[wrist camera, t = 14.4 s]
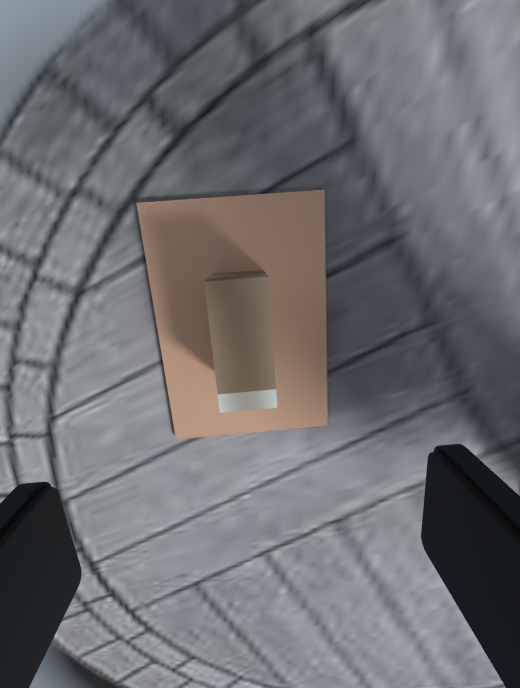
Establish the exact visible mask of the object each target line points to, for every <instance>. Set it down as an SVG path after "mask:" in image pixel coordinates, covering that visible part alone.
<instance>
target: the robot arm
mask: <svg viewBox="0 0 520 688" xmlns="http://www.w3.org/2000/svg"><path fill="white" fill-rule="evenodd" d="M421 539H422V543H423V547H424V549H425V551H426V553H427V555H428V557H429V558H430V560H431V562H432V563H433V565H434V567H435V568H436V570H437V572H438V574H439V575H440V577H441V579H442V580H443V582H444V584H445V585H446V587H447V589H448V590H449V592H450V594H451V595H452V597H453V599H454V601H455V602H456V604H457V606H458V607H459V609H460V611H461V612H462V614H463V616H464V617H465V619H466V621H467V622H468V624H469V626H470V628H471V629H472V631H473V633H474V634H475V636H476V638H477V639H478V641H479V643H480V644H481V646H482V648H483V649H484V651H485V653H486V654H487V656H488V658H489V660H490V661H491V663H492V665H493V666H494V668H495V670H496V671H497V673H498V675H499V676H500V678H501V680H502V681H503V683H504V685H505V687H506V688H520V496H519V495H518V494H517V493H516V492H515V491H513V490H512V489H511V488H510V487H509V486H508V485H507V484H506V483H505V482H504V481H502V480H501V479H500V478H499V477H498V476H497V475H496V474H495V473H494V472H492V471H491V470H490V469H489V468H488V467H487V466H486V465H485V464H484V463H483V462H481V461H480V460H479V459H478V458H477V457H476V456H475V455H474V454H473V453H472V452H470V451H469V450H468V449H467V448H466V447H465V446H463V445H461V444H453V445H442V446H437V447H435V449H434V452H432V453H430V454H429V455H428V463H427V474H426V486H425V497H424V509H423V520H422V532H421ZM80 580H81V566H80V563H79V560H78V556H77V553H76V550H75V547H74V543H73V540H72V537H71V533H70V530H69V527H68V524H67V520H66V517H65V514H64V510H63V507H62V504H61V501H60V497H59V494H58V491H57V489H56V488H54V487H51V485H50V484H49V483H48V482H37V483H26V484H21V485H18V486H17V487H16V488H15V489H14V490H13V491H12V492H11V493H10V494H9V495H8V496H7V497H6V498H5V499H4V500H3V501H2V502H1V503H0V688H29V687H30V684H31V682H32V680H33V678H34V676H35V674H36V672H37V670H38V668H39V666H40V664H41V662H42V660H43V658H44V656H45V654H46V652H47V649H48V648H49V646H50V644H51V642H52V640H53V637H54V635H55V633H56V631H57V629H58V627H59V625H60V623H61V621H62V619H63V617H64V615H65V613H66V611H67V609H68V607H69V605H70V603H71V601H72V599H73V597H74V595H75V593H76V590H77V588H78V586H79V584H80Z"/></svg>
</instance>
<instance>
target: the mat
mask: <svg viewBox="0 0 520 688" xmlns="http://www.w3.org/2000/svg"><path fill="white" fill-rule="evenodd" d="M136 204H137V210H138V216H139V222H140V228H141V234H142V240H143V245H144V251H145V257H146V263H147V269H148V275H149V281H150V287H151V293H152V299H153V305H154V311H155V317H156V323H157V329H158V335H159V341H160V347H161V353H162V359H163V365H164V371H165V377H166V383H167V389H168V395H169V401H170V407H171V413H172V419H173V425H174V431H175V437H176V439H184V438H195V437H206V436H217V435H229V434H240V433H251V432H262V431H273V430H284V429H296V428H307V427H318V426H328V400H327V322H326V244H325V190H311V191H297V192H282V193H268V194H254V195H240V196H226V197H212V198H198V199H183V200H169V201H155V202H141V203H136ZM255 270H264V271H265V273H266V274H267V275H268V276H269V288H270V303H271V318H272V334H273V349H274V365H275V380H276V395H277V408H268V409H257V410H246V411H235V412H224V413H220V410H219V401H218V393H217V385H216V377H215V369H214V360H213V352H212V344H211V336H210V328H209V320H208V311H207V303H206V295H205V287H204V281H205V280H206V279H208V278H209V277H210V276H211V275H212V274H217V273H230V272H242V271H255Z"/></svg>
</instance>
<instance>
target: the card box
mask: <svg viewBox="0 0 520 688" xmlns="http://www.w3.org/2000/svg"><path fill="white" fill-rule="evenodd" d="M204 287H205V295H206V303H207V311H208V320H209V328H210V336H211V344H212V352H213V360H214V369H215V377H216V385H217V393H218V401H219V410H220V413H224V412H235V411H246V410H257V409H268V408H277V395H276V380H275V365H274V349H273V334H272V318H271V303H270V288H269V276H268V275H267V274H266V273H265V271H264V270H255V271H242V272H230V273H217V274H212V275H211V276H210V277H209V278H208V279H206V280H205V281H204Z"/></svg>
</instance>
